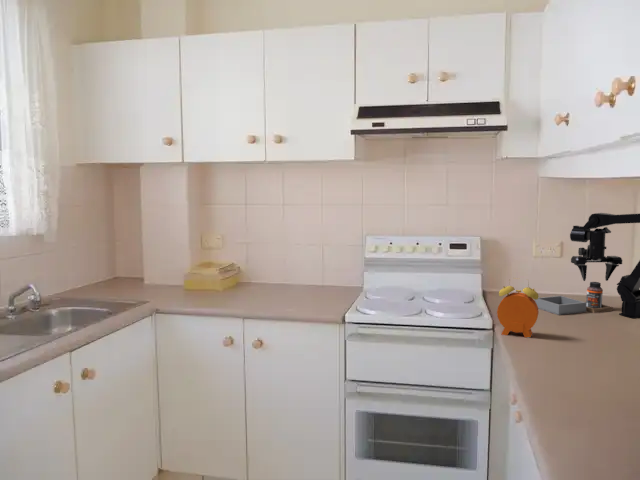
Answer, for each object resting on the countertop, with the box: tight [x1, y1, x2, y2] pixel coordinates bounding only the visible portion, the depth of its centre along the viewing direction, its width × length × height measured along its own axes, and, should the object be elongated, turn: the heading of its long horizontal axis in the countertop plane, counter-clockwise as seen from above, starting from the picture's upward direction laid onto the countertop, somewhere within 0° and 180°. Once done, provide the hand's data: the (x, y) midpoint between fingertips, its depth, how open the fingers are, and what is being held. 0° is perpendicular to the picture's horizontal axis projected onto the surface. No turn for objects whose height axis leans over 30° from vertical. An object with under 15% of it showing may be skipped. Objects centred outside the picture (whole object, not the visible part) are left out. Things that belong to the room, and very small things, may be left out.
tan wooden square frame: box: [586, 303, 614, 314], centre depth 229 cm, size 10×10×2 cm
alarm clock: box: [496, 277, 540, 338], centre depth 193 cm, size 13×6×20 cm, turn 64°
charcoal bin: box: [534, 295, 587, 316], centre depth 228 cm, size 14×14×4 cm
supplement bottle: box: [585, 281, 604, 309], centre depth 229 cm, size 6×6×11 cm
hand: (595, 280), depth 228 cm, fingers open, 9 cm apart
